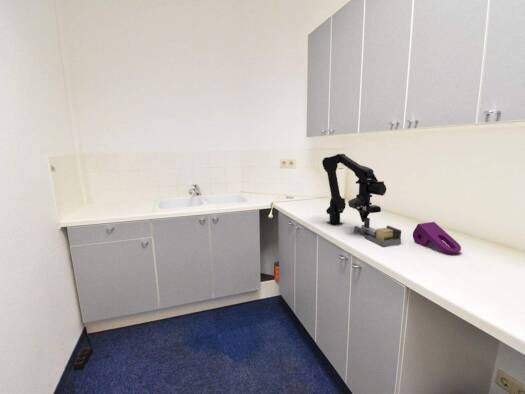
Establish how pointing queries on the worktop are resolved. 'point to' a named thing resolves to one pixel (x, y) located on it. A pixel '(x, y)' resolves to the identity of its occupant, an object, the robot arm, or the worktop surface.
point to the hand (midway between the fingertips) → (363, 221)
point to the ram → (369, 229)
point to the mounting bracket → (435, 238)
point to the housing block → (384, 234)
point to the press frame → (394, 241)
